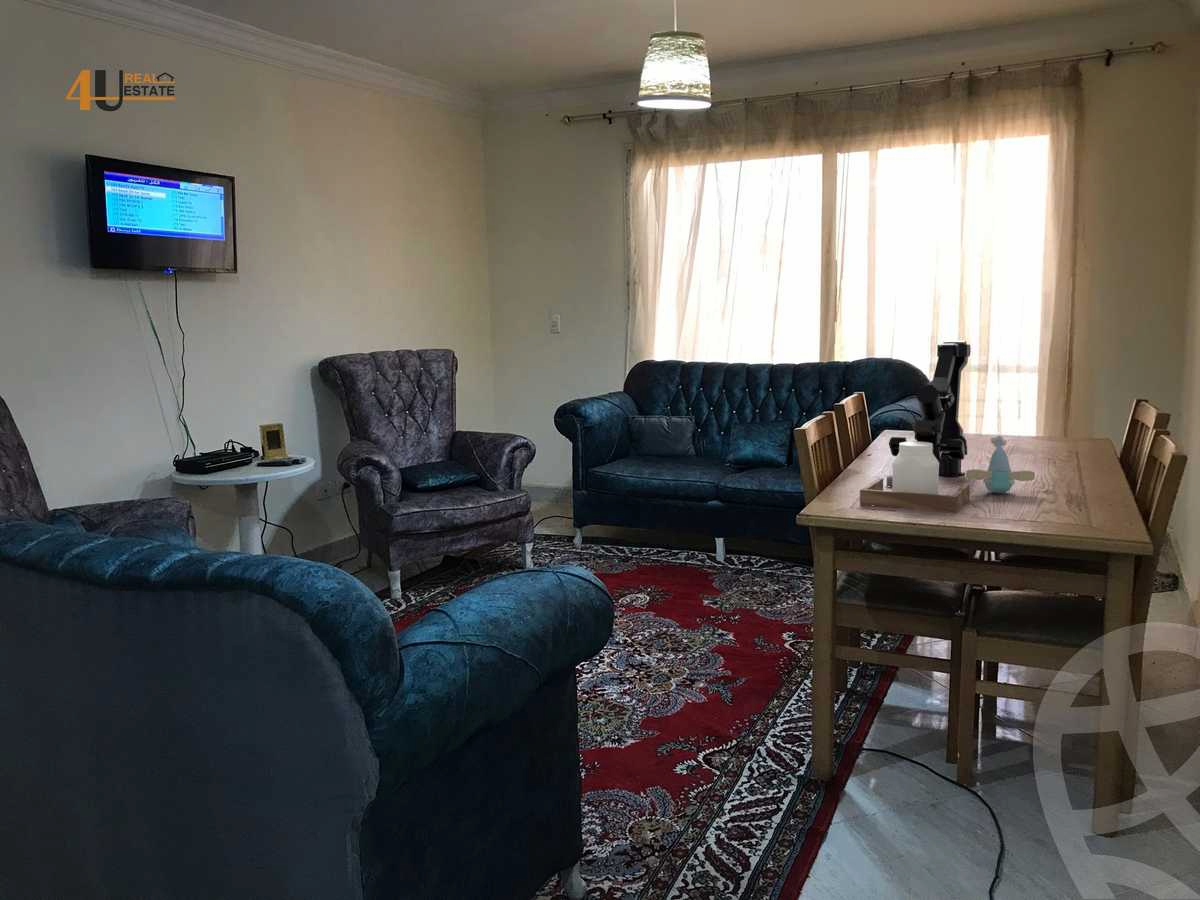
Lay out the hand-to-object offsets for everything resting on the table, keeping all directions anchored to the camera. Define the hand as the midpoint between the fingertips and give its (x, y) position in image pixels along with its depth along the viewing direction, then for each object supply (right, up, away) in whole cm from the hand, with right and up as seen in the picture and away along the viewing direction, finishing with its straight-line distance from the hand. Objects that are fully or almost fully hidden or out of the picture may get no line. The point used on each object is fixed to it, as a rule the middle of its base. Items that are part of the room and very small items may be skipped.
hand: (921, 473), depth 248 cm
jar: (-2, -7, -2) cm, 8 cm away
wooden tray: (-3, -7, -4) cm, 9 cm away
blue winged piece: (+22, -5, +4) cm, 23 cm away
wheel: (-1, -4, +18) cm, 18 cm away
